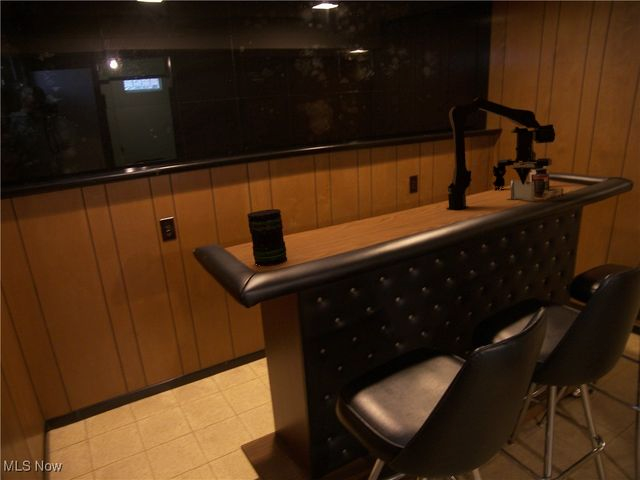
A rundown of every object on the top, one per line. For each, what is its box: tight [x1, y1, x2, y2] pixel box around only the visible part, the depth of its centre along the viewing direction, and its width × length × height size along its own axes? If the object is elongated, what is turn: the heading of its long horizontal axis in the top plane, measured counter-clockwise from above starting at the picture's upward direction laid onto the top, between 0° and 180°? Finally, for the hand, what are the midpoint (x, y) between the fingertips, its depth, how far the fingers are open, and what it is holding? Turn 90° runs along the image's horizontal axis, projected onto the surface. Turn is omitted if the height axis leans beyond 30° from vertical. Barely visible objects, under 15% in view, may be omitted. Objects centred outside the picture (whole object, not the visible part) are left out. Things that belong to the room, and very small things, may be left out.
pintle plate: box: [506, 197, 519, 201], centre depth 189 cm, size 4×4×1 cm
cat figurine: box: [490, 165, 507, 191], centre depth 218 cm, size 7×7×12 cm
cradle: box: [542, 187, 564, 200], centre depth 187 cm, size 12×12×2 cm
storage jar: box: [246, 208, 288, 267], centre depth 133 cm, size 10×10×15 cm
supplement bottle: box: [533, 167, 551, 198], centre depth 187 cm, size 6×6×11 cm
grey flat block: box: [510, 179, 535, 202], centre depth 183 cm, size 13×2×7 cm, turn 12°
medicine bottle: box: [529, 165, 550, 182], centre depth 209 cm, size 7×7×12 cm
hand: (523, 184), depth 179 cm, fingers closed
